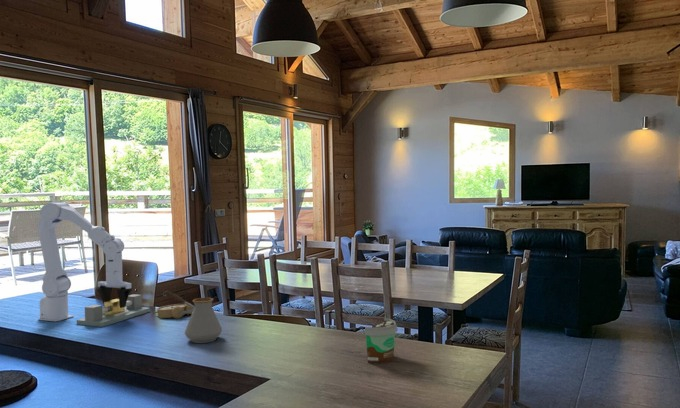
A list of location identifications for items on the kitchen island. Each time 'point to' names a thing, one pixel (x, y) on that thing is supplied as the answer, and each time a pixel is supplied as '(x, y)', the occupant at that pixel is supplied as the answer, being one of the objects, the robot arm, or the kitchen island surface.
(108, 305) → the block
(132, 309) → the long grey base plate
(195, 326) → the coffee pot
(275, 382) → the kitchen island surface
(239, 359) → the kitchen island surface
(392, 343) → the food container
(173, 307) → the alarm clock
